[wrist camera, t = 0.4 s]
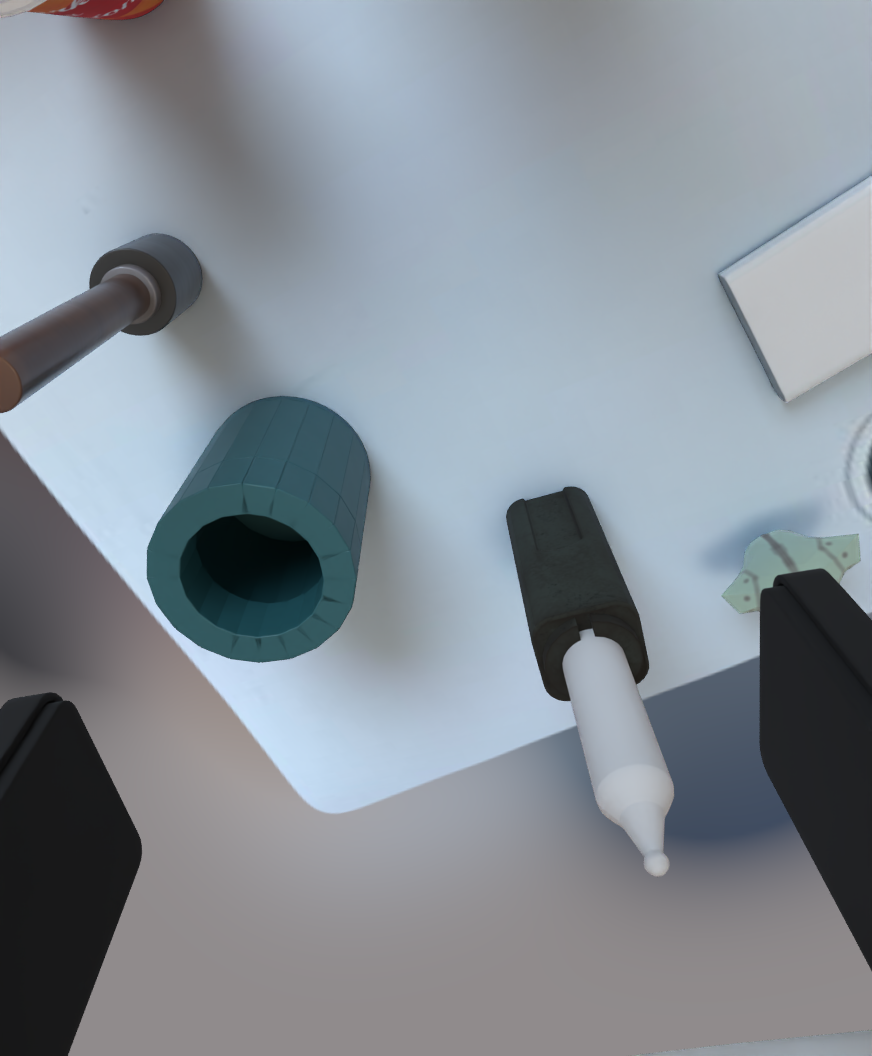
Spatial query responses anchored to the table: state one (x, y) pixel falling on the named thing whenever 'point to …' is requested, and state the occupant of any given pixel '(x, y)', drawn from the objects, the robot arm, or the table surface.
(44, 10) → the coffee cup
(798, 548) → the green toy fish
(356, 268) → the table surface
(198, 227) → the table surface
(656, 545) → the table surface
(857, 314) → the hard drive
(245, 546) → the teal hollow cylinder
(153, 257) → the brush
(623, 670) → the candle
